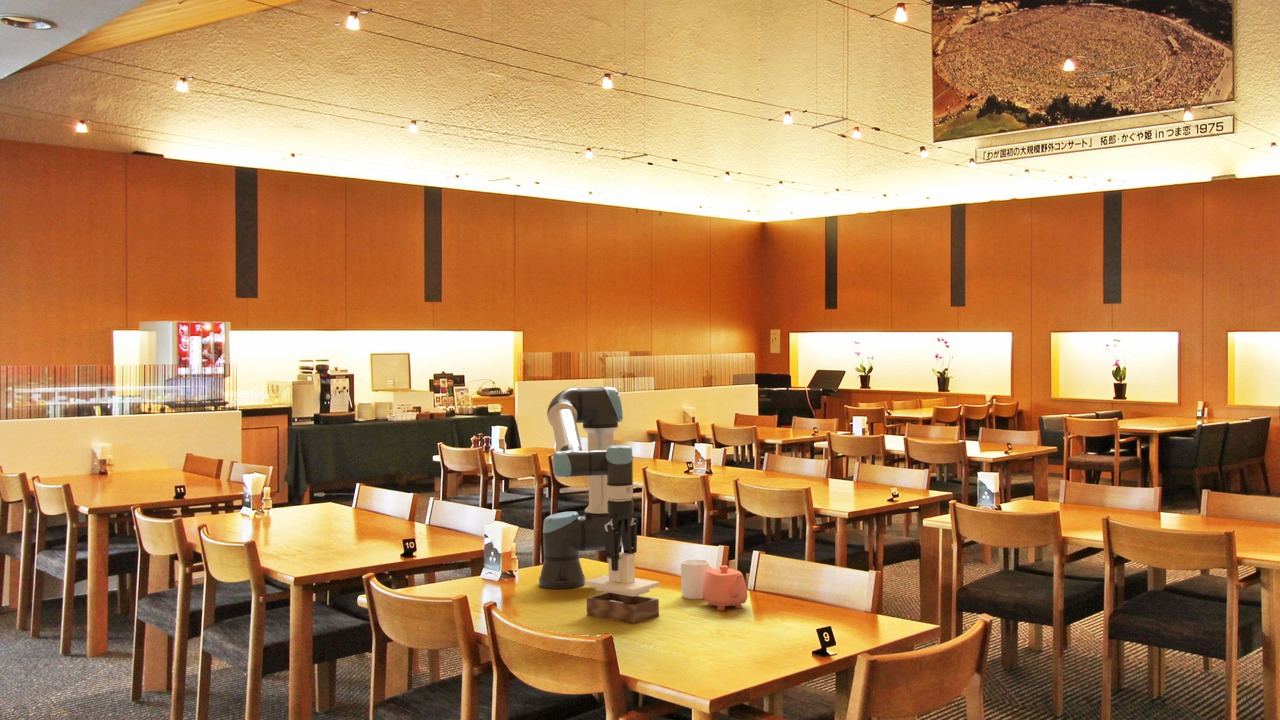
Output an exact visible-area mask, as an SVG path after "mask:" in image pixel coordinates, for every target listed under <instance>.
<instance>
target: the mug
mask: <svg viewBox="0 0 1280 720" xmlns="http://www.w3.org/2000/svg"><path fill="white" fill-rule="evenodd" d="M709 569H714V568H713V567H712V565H710V562H709V560H706V559H699V558H698V559H697V558H695V559H685V560H681V562H680V575H681V576H680V577H681V578H680V579H681V581H680V582H681V583H680V585H681V588H680V589H681V596H682V598H684V599H686V600H687V599H688V600H702V599H704V598H703V596H702V586H703V581H704V577H705V574H706V571H707V570H709Z"/></svg>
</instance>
